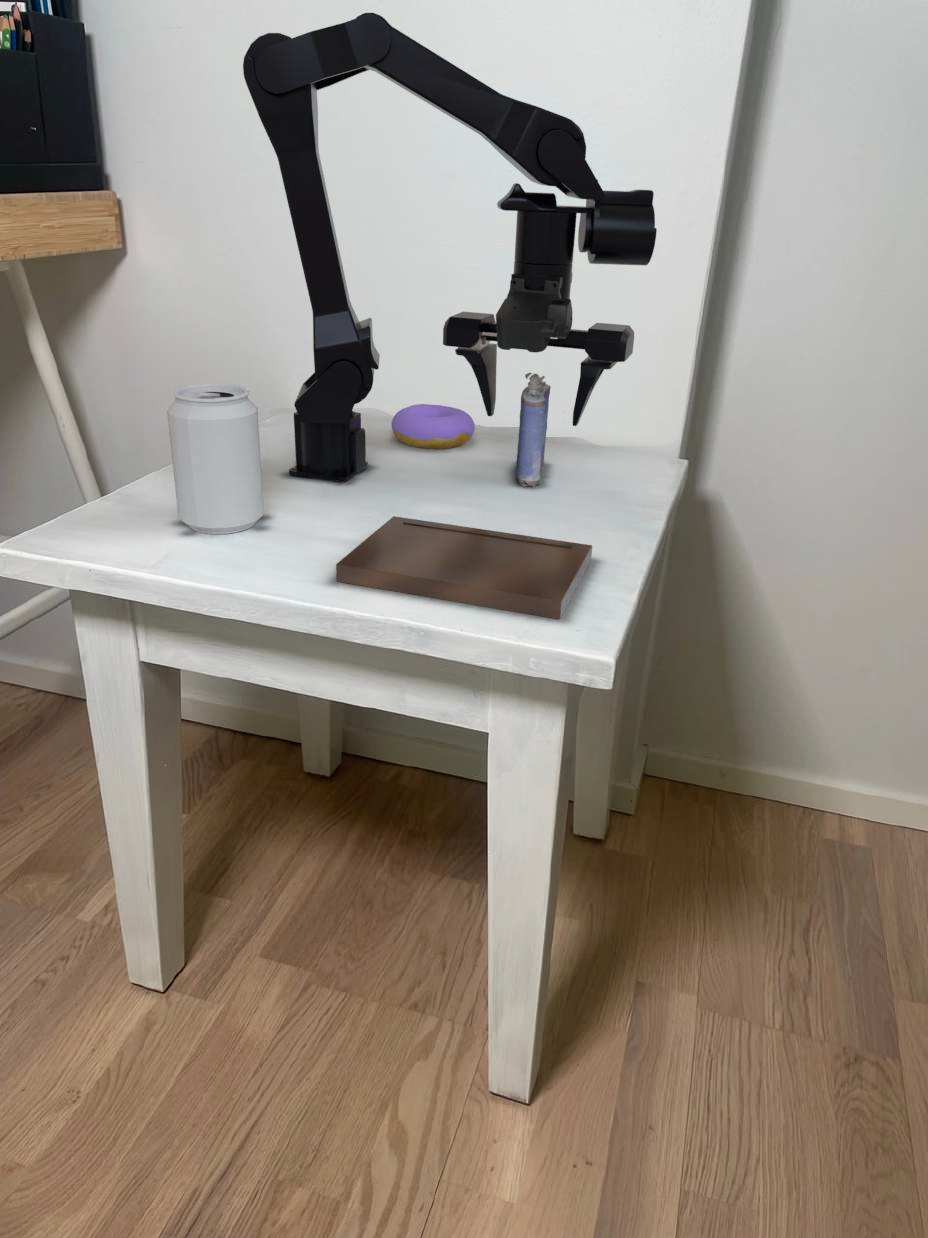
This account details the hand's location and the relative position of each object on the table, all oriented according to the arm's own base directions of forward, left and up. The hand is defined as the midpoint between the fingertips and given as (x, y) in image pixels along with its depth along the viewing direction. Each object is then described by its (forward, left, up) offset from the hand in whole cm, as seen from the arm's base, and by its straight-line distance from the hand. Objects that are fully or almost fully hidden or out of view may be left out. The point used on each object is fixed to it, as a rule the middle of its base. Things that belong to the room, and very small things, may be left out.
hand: (532, 420), depth 97 cm
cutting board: (+2, -28, -6) cm, 29 cm away
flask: (0, 0, -6) cm, 6 cm away
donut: (-14, +8, -6) cm, 17 cm away
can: (-22, -26, -6) cm, 34 cm away
